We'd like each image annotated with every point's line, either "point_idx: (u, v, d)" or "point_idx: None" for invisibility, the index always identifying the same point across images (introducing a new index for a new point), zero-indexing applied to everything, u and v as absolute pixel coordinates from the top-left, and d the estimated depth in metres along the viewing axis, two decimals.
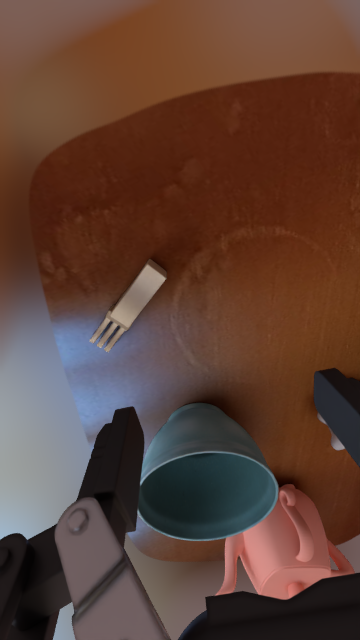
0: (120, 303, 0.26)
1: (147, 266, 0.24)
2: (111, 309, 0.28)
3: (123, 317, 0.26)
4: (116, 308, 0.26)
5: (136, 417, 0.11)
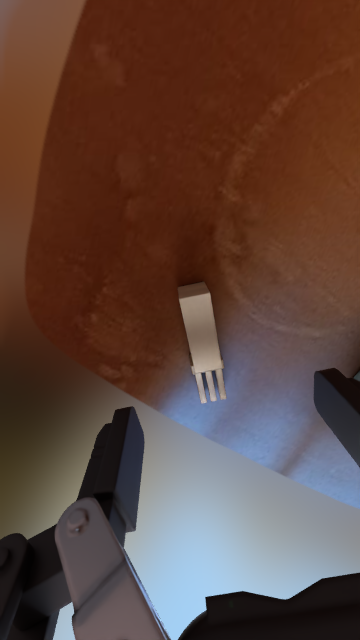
0: (193, 354, 0.21)
1: (181, 301, 0.19)
2: (191, 362, 0.23)
3: (208, 363, 0.21)
4: (194, 361, 0.21)
5: (136, 417, 0.11)
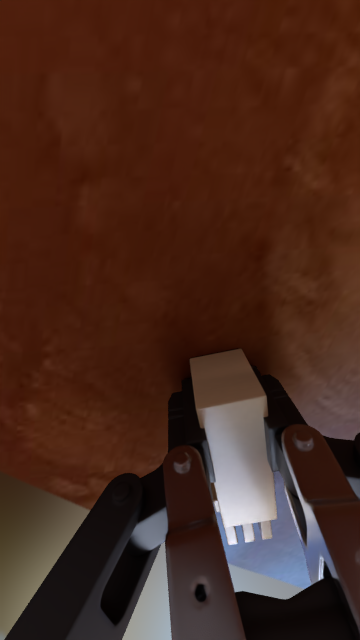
0: (221, 501, 0.10)
1: (201, 412, 0.08)
2: (214, 489, 0.13)
3: (251, 513, 0.11)
4: (223, 512, 0.10)
5: None
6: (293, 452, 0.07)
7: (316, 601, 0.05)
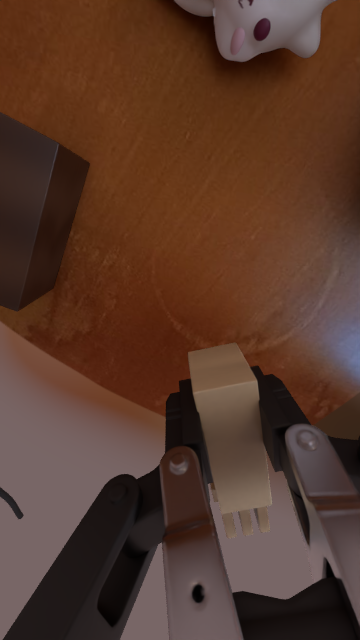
0: (218, 486, 0.11)
1: (198, 396, 0.09)
2: None
3: (247, 499, 0.11)
4: (220, 497, 0.11)
5: None
6: (296, 452, 0.07)
7: (318, 600, 0.05)
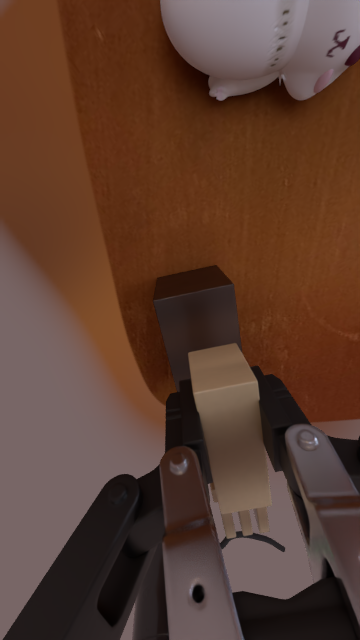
0: (218, 486, 0.11)
1: (198, 397, 0.09)
2: None
3: (246, 499, 0.11)
4: (220, 497, 0.11)
5: None
6: (296, 452, 0.07)
7: (318, 600, 0.05)
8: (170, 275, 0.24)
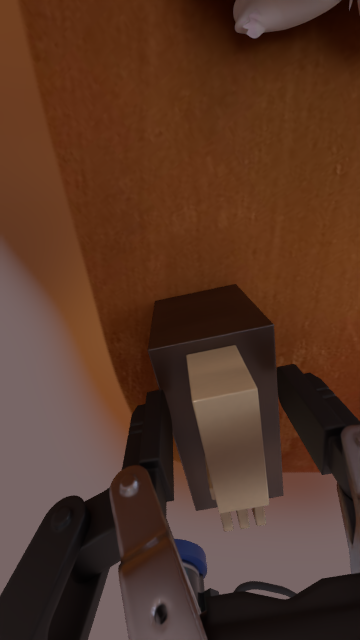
0: (217, 488, 0.11)
1: (197, 405, 0.09)
2: (210, 479, 0.13)
3: (244, 499, 0.11)
4: (218, 498, 0.11)
5: (165, 400, 0.11)
6: (352, 450, 0.07)
7: (353, 587, 0.05)
8: (173, 298, 0.18)
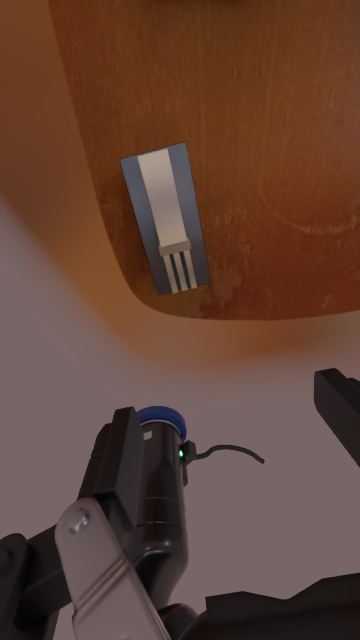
0: (157, 224, 0.21)
1: (139, 158, 0.19)
2: (159, 245, 0.23)
3: (173, 235, 0.21)
4: (159, 233, 0.21)
5: (136, 417, 0.11)
6: None
7: None
8: None
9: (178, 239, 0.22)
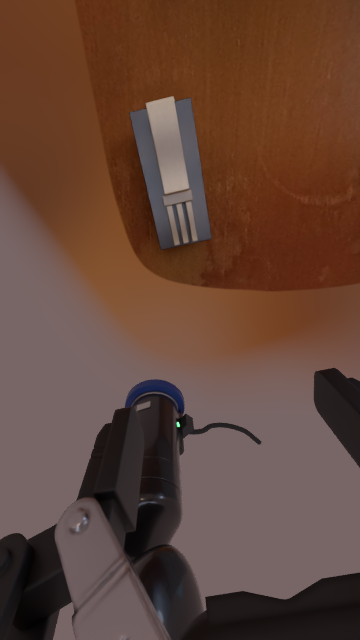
0: (161, 171, 0.23)
1: (148, 105, 0.21)
2: (163, 196, 0.25)
3: (176, 182, 0.23)
4: (163, 180, 0.23)
5: (136, 417, 0.11)
6: None
7: None
8: None
9: (181, 186, 0.23)
